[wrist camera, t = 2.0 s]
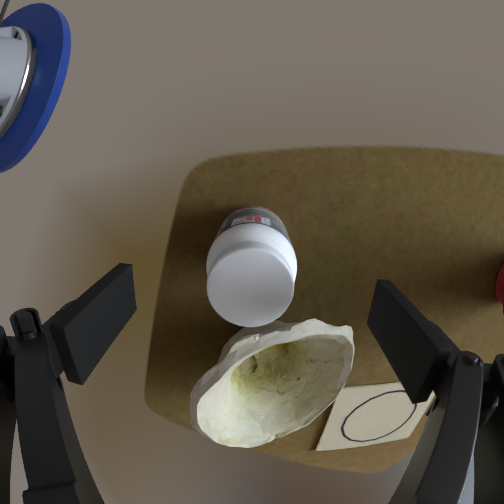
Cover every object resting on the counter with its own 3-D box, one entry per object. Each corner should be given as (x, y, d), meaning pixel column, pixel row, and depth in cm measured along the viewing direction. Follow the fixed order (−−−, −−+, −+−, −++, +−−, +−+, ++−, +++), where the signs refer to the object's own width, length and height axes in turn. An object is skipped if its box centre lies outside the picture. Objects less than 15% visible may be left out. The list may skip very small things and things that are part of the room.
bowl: (315, 402, 31) (328, 469, 21) (197, 384, 30) (181, 454, 20) (366, 294, 26) (410, 357, 17) (220, 263, 25) (200, 325, 16)
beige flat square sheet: (338, 386, 30) (339, 388, 30) (444, 374, 30) (445, 375, 30) (315, 449, 34) (315, 451, 34) (407, 436, 34) (408, 437, 34)
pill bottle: (215, 208, 24) (188, 241, 14) (284, 201, 24) (302, 231, 14) (223, 272, 26) (206, 337, 16) (288, 267, 25) (305, 329, 16)
